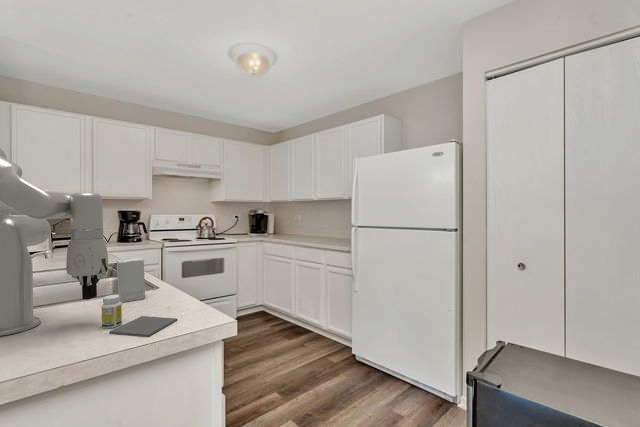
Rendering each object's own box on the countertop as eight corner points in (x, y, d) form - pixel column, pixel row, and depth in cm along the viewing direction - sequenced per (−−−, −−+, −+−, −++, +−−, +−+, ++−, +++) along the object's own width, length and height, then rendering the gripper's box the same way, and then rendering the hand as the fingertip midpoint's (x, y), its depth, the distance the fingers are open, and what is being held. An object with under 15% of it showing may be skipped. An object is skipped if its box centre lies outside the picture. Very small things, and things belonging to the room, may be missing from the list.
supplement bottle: (118, 321, 92) (118, 293, 92) (124, 325, 89) (124, 296, 89) (99, 326, 89) (99, 296, 88) (104, 330, 86) (104, 300, 85)
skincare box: (142, 295, 119) (142, 257, 119) (145, 299, 114) (145, 259, 114) (116, 299, 114) (116, 259, 113) (118, 303, 109) (118, 261, 109)
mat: (109, 333, 83) (109, 331, 83) (142, 317, 95) (142, 315, 95) (148, 337, 81) (148, 334, 81) (177, 320, 93) (177, 318, 93)
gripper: (52, 236, 87) (55, 301, 88) (98, 236, 85) (100, 303, 85) (77, 234, 95) (80, 293, 95) (120, 234, 92) (122, 295, 93)
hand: (89, 298), depth 90 cm, fingers closed
